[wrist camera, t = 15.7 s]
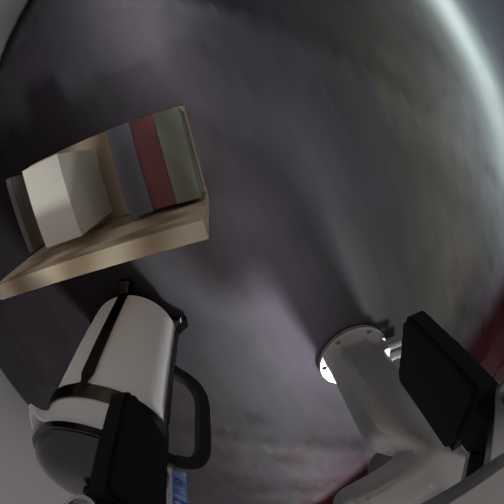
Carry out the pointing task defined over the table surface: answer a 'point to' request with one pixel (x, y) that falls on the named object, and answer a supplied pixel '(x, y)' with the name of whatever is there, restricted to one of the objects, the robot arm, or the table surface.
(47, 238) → the boxed book
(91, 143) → the bookshelf
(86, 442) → the coffee press
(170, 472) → the ink cartridge box
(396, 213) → the table surface
